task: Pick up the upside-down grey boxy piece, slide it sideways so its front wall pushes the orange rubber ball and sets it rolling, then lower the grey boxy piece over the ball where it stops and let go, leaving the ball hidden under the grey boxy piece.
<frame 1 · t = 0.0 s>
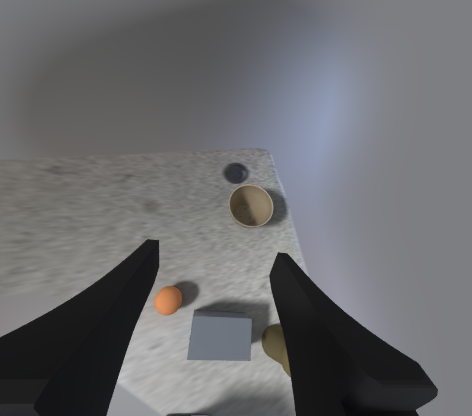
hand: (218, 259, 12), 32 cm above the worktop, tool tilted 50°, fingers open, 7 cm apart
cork: (275, 340, 39), on the worktop
grey boxy piece: (218, 329, 38), on the worktop
beige rounded hollow piece: (244, 215, 48), on the worktop
ball: (168, 300, 36), on the worktop
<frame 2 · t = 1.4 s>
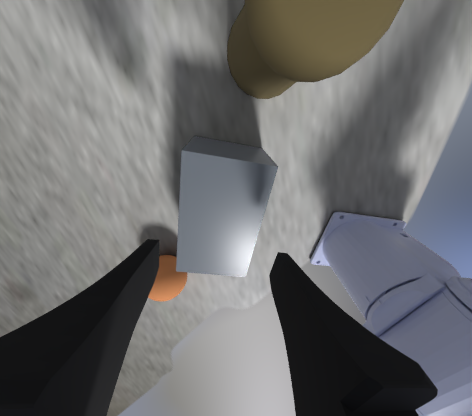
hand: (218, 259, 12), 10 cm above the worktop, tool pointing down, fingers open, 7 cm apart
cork: (265, 54, 15), on the worktop
grey boxy piece: (220, 193, 20), on the worktop
ball: (164, 277, 22), on the worktop
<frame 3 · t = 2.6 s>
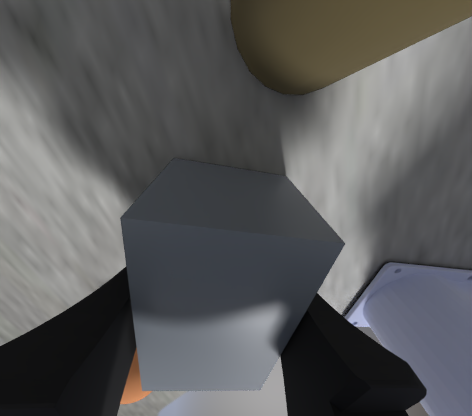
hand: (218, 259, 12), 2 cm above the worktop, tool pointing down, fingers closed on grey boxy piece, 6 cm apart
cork: (304, 9, 8), on the worktop
grey boxy piece: (219, 242, 13), on the worktop, touching gripper
ball: (137, 358, 15), on the worktop
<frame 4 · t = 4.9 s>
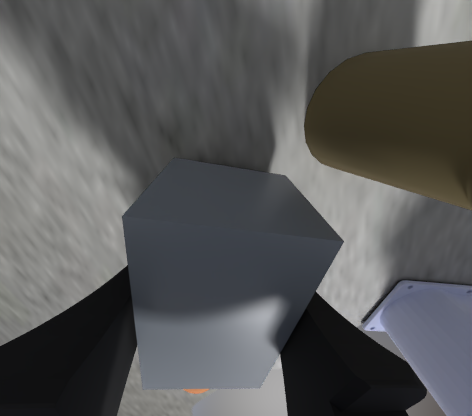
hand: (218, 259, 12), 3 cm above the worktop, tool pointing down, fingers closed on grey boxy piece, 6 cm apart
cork: (353, 117, 11), on the worktop
grey boxy piece: (219, 241, 13), point 1 cm above the worktop, touching gripper
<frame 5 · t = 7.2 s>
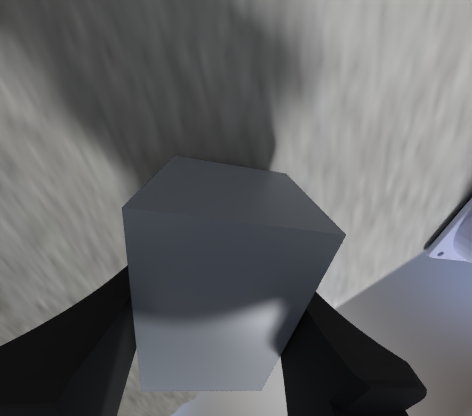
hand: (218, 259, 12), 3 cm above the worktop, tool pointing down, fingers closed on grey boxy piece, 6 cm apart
grey boxy piece: (219, 240, 13), point 1 cm above the worktop, touching gripper
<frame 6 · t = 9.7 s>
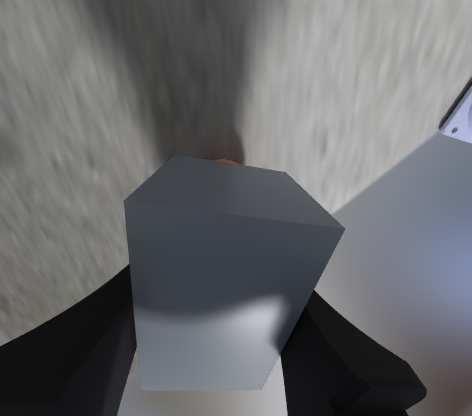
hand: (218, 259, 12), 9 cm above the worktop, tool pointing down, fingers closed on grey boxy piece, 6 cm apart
grey boxy piece: (219, 239, 13), point 7 cm above the worktop, touching gripper
when the fingers open (2 cm above the worktop, at t = 12.2 s): grey boxy piece stays where it is, on the worktop.
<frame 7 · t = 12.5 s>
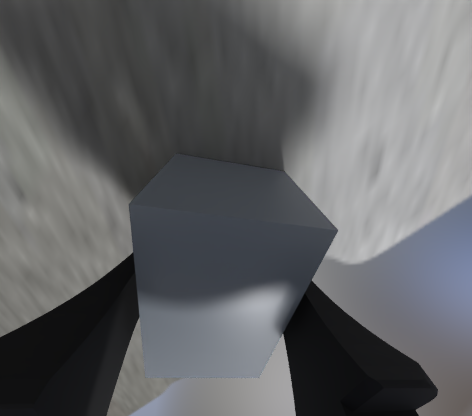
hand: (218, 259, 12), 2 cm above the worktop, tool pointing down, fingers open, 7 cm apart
grey boxy piece: (219, 236, 13), on the worktop
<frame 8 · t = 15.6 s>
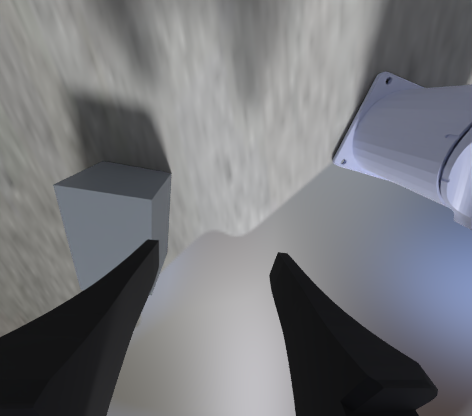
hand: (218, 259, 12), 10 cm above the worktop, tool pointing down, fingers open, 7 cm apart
grey boxy piece: (139, 213, 21), on the worktop
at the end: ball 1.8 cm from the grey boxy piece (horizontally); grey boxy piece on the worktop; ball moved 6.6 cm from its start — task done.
